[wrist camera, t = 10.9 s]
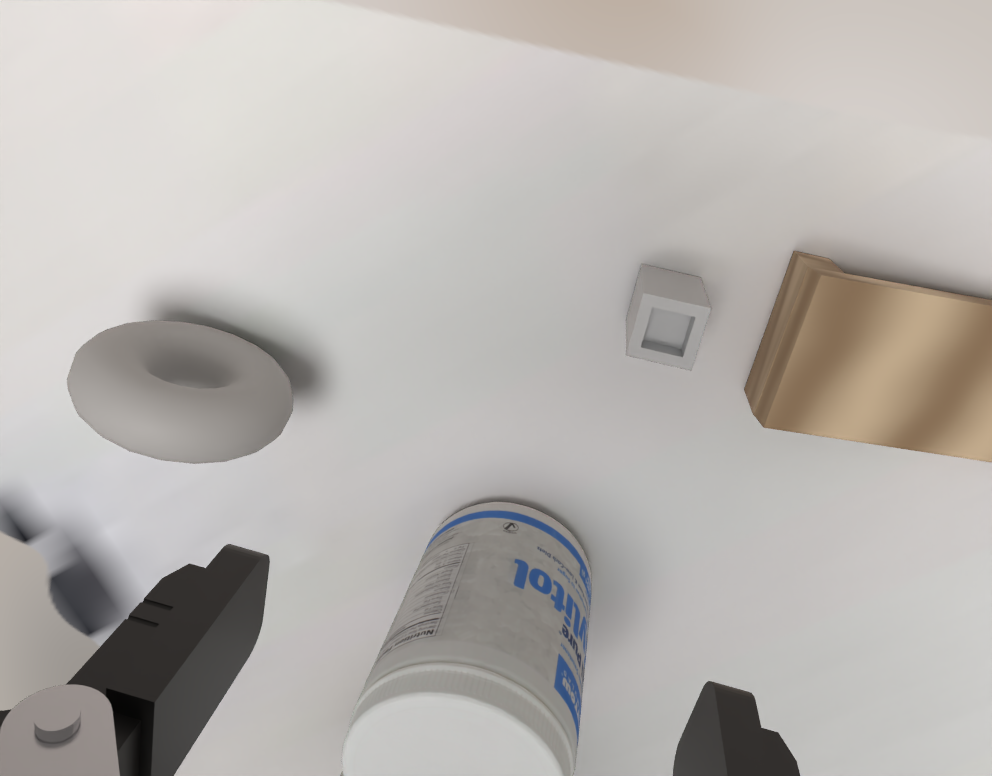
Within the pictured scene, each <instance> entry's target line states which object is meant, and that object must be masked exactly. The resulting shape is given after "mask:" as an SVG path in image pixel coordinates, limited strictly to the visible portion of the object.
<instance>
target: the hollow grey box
mask: <svg viewBox="0 0 992 776" xmlns="http://www.w3.org/2000/svg"><path fill="white" fill-rule="evenodd" d="M710 311H711V306H710V303H709V300H708V297H707V294H706V291H705V289H704V286H703V283H702V280H701V277H697V276H692V275H688V274H684V273H679V272H675V271H670V270H666V269H662V268H657V267H653V266H648V265H644V264H641V267H640V271H639V275H638V278H637V282H636V285H635V289H634V293H633V296H632V300H631V304H630V307H629V311H628V314H627V318H626V356H630V357H635V358H639V359H643V360H647V361H651V362H656V363H660V364H664V365H668V366H673V367H677V368H681V369H685V370H690V371H691V370H692V367H693V364H694V361H695V358H696V355H697V352H698V349H699V345H700V342H701V339H702V336H703V333H704V330H705V327H706V324H707V321H708V318H709V315H710Z"/></svg>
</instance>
